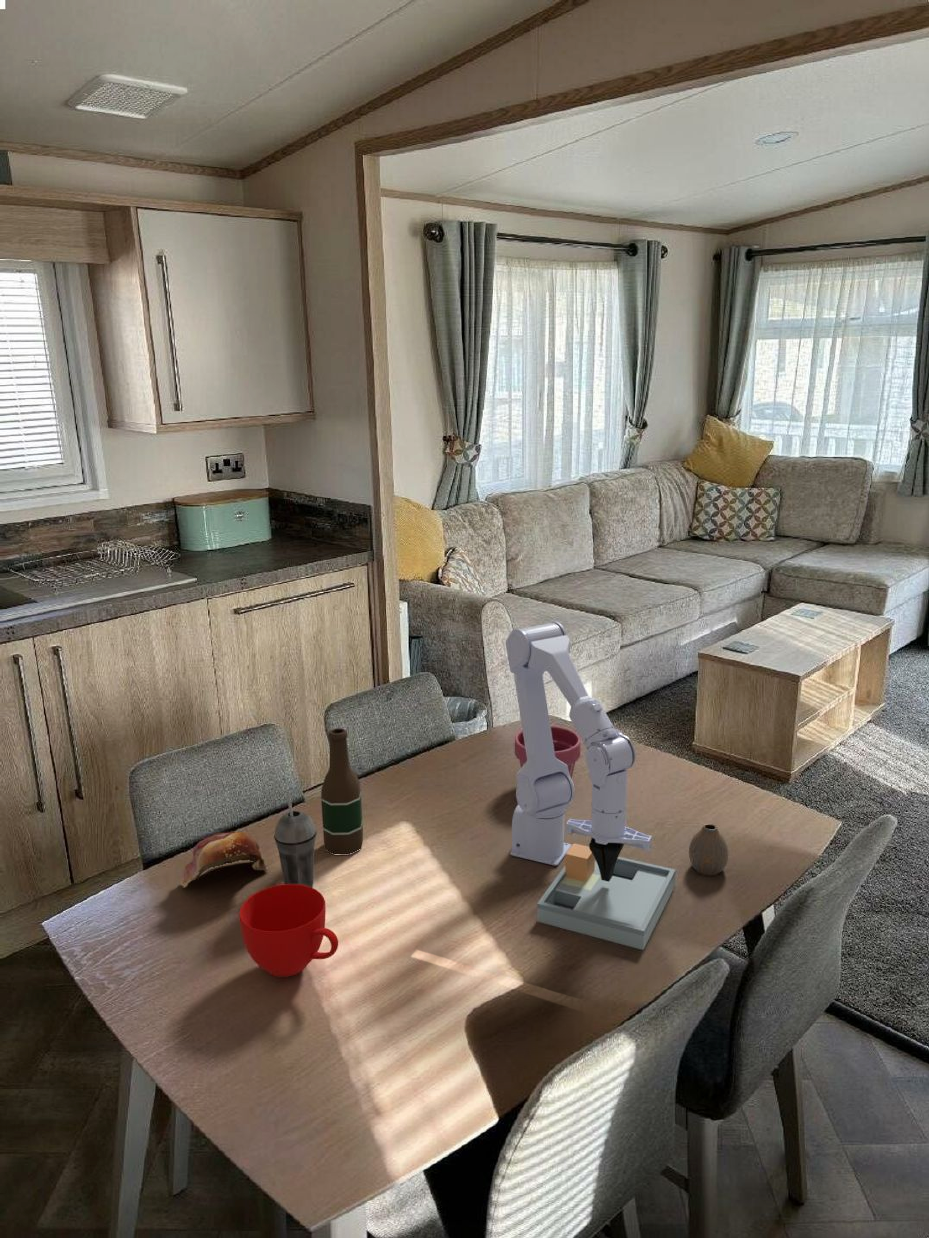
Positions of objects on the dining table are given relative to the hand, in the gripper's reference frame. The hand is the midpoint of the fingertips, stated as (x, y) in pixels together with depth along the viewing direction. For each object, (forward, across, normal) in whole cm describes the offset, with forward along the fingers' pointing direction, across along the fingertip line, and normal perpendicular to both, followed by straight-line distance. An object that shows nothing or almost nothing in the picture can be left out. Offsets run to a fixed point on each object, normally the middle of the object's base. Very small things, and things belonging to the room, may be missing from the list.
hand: (606, 877), depth 155 cm
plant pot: (+4, -24, +34) cm, 42 cm away
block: (+2, -6, +2) cm, 6 cm away
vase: (+4, +14, +17) cm, 22 cm away
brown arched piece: (+4, -64, -24) cm, 68 cm away
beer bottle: (+4, -51, -4) cm, 52 cm away
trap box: (+4, +1, -1) cm, 4 cm away
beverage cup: (+4, -49, -21) cm, 54 cm away
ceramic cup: (+4, -37, -38) cm, 54 cm away
